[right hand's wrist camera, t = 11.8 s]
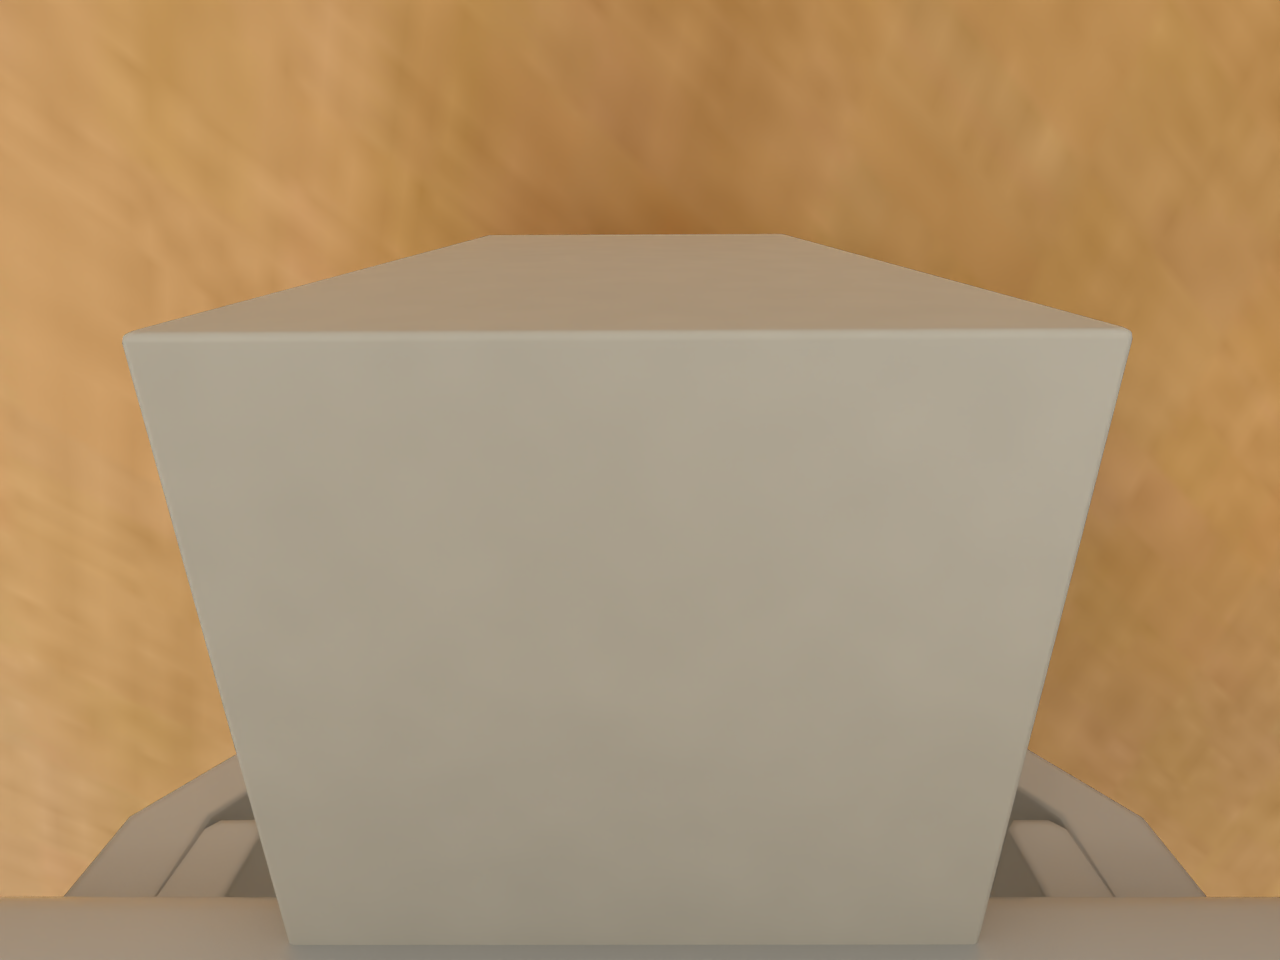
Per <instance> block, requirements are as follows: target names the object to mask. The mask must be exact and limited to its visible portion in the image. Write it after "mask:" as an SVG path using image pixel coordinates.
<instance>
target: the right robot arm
mask: <svg viewBox="0 0 1280 960" xmlns="http://www.w3.org/2000/svg"><path fill="white" fill-rule="evenodd" d="M0 960H1280V897H1206V895H1205V894H1204V893H1203V892H1202V890H1201V889H1200V888H1199V887H1198V886H1197V884H1196V883H1195V882H1194V881H1193V879H1192V878H1191V877H1190V876H1189V874H1188V873H1187V872H1186V871H1185V869H1184V868H1183V867H1182V866H1181V864H1180V863H1179V862H1178V861H1177V860H1176V858H1175V857H1174V856H1173V855H1172V853H1171V852H1170V851H1169V850H1168V848H1167V847H1166V846H1165V845H1164V843H1163V842H1162V841H1161V840H1160V839H1159V837H1158V836H1157V835H1156V834H1155V832H1154V831H1153V830H1152V829H1151V827H1150V826H1149V825H1148V824H1147V822H1146V821H1145V820H1144V819H1143V818H1142V817H1140V816H1139V815H1137V814H1135V813H1134V812H1132V811H1130V810H1128V809H1127V808H1125V807H1123V806H1122V805H1120V804H1118V803H1117V802H1115V801H1113V800H1112V799H1110V798H1108V797H1107V796H1105V795H1103V794H1102V793H1100V792H1098V791H1097V790H1095V789H1093V788H1092V787H1090V786H1088V785H1087V784H1085V783H1083V782H1081V781H1080V780H1078V779H1076V778H1075V777H1073V776H1071V775H1070V774H1068V773H1066V772H1065V771H1063V770H1061V769H1060V768H1058V767H1056V766H1055V765H1053V764H1051V763H1050V762H1048V761H1046V760H1045V759H1043V758H1041V757H1040V756H1038V755H1036V754H1034V753H1033V752H1031V751H1029V750H1028V749H1027V752H1026V756H1025V760H1024V764H1023V768H1022V772H1021V776H1020V779H1019V783H1018V787H1017V791H1016V795H1015V799H1014V803H1013V807H1012V811H1011V815H1010V818H1009V822H1008V826H1007V830H1006V834H1005V838H1004V842H1003V846H1002V850H1001V854H1000V857H999V861H998V865H997V869H996V873H995V877H994V881H993V885H992V889H991V893H990V897H989V900H988V904H987V908H986V912H985V916H984V920H983V924H982V928H981V932H980V936H979V939H978V943H976V944H974V945H292V944H290V943H289V940H288V937H287V933H286V930H285V926H284V922H283V919H282V915H281V912H280V908H279V904H278V901H277V897H276V894H275V890H274V887H273V883H272V879H271V876H270V872H269V869H268V865H267V861H266V858H265V854H264V851H263V847H262V843H261V840H260V836H259V833H258V829H257V825H256V822H255V818H254V815H253V811H252V807H251V804H250V800H249V797H248V793H247V789H246V786H245V782H244V779H243V775H242V772H241V768H240V764H239V761H238V757H237V754H236V755H234V756H232V757H231V758H229V759H227V760H226V761H224V762H222V763H220V764H219V765H217V766H215V767H214V768H212V769H210V770H209V771H207V772H205V773H203V774H202V775H200V776H198V777H197V778H195V779H193V780H192V781H190V782H188V783H186V784H185V785H183V786H181V787H180V788H178V789H176V790H175V791H173V792H171V793H170V794H168V795H166V796H164V797H163V798H161V799H159V800H158V801H156V802H154V803H153V804H151V805H149V806H147V807H146V808H144V809H142V810H141V811H139V812H137V813H136V814H134V815H132V816H130V817H129V818H128V819H127V821H126V822H125V823H124V824H123V826H122V827H121V828H120V829H119V830H118V832H117V833H116V834H115V835H114V836H113V838H112V839H111V840H110V841H109V842H108V844H107V845H106V846H105V847H104V848H103V850H102V851H101V852H100V853H99V854H98V856H97V857H96V858H95V859H94V861H93V862H92V863H91V864H90V865H89V867H88V868H87V869H86V870H85V871H84V873H83V874H82V875H81V876H80V877H79V879H78V880H77V881H76V882H75V883H74V885H73V886H72V887H71V888H70V890H69V891H68V892H67V893H66V894H65V896H64V897H0Z"/></svg>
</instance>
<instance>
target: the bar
mask: <svg viewBox="0 0 1280 960" xmlns="http://www.w3.org/2000/svg"><path fill="white" fill-rule="evenodd" d="M1131 342H1132V332H1131V331H1130V330H1128V329H1126V328H1124V327H1121V326H1117V325H1114V324H1110V323H1106V322H1103V321H1099V320H1095V319H1092V318H1088V317H1084V316H1081V315H1077V314H1073V313H1070V312H1066V311H1062V310H1059V309H1055V308H1051V307H1048V306H1044V305H1041V304H1037V303H1033V302H1030V301H1026V300H1022V299H1019V298H1015V297H1011V296H1008V295H1004V294H1000V293H997V292H993V291H989V290H986V289H982V288H978V287H975V286H971V285H967V284H964V283H960V282H956V281H953V280H949V279H945V278H942V277H938V276H934V275H931V274H927V273H923V272H920V271H916V270H912V269H909V268H905V267H901V266H898V265H894V264H890V263H887V262H883V261H880V260H876V259H872V258H869V257H865V256H861V255H858V254H854V253H850V252H847V251H843V250H839V249H836V248H832V247H828V246H825V245H821V244H817V243H814V242H810V241H806V240H803V239H799V238H795V237H792V236H788V235H784V234H636V235H488V236H484V237H481V238H477V239H473V240H469V241H466V242H462V243H458V244H455V245H451V246H447V247H443V248H440V249H436V250H432V251H429V252H425V253H421V254H417V255H414V256H410V257H406V258H402V259H399V260H395V261H391V262H388V263H384V264H380V265H376V266H373V267H369V268H365V269H361V270H358V271H354V272H350V273H347V274H343V275H339V276H335V277H332V278H328V279H324V280H320V281H317V282H313V283H309V284H306V285H302V286H298V287H294V288H291V289H287V290H283V291H280V292H276V293H272V294H268V295H265V296H261V297H257V298H253V299H250V300H246V301H242V302H239V303H235V304H231V305H227V306H224V307H220V308H216V309H212V310H209V311H205V312H201V313H198V314H194V315H190V316H186V317H183V318H179V319H175V320H172V321H168V322H164V323H160V324H157V325H153V326H149V327H145V328H142V329H138V330H134V331H131V332H129V333H127V334H125V335H124V336H123V341H122V344H123V347H124V351H125V355H126V358H127V362H128V365H129V369H130V373H131V376H132V380H133V383H134V387H135V391H136V394H137V398H138V401H139V405H140V409H141V412H142V416H143V419H144V423H145V427H146V430H147V434H148V437H149V441H150V444H151V448H152V452H153V455H154V459H155V462H156V466H157V470H158V473H159V477H160V480H161V484H162V488H163V491H164V495H165V498H166V502H167V506H168V509H169V513H170V516H171V520H172V524H173V527H174V531H175V534H176V538H177V542H178V545H179V549H180V552H181V556H182V559H183V563H184V567H185V570H186V574H187V577H188V581H189V585H190V588H191V592H192V595H193V599H194V603H195V606H196V610H197V613H198V617H199V621H200V624H201V628H202V631H203V635H204V639H205V642H206V646H207V649H208V653H209V657H210V660H211V664H212V667H213V671H214V674H215V678H216V682H217V685H218V689H219V692H220V696H221V700H222V703H223V707H224V710H225V714H226V718H227V721H228V725H229V728H230V732H231V736H232V739H233V743H234V746H235V750H236V754H237V757H238V761H239V764H240V768H241V772H242V775H243V779H244V782H245V786H246V789H247V793H248V797H249V800H250V804H251V807H252V811H253V815H254V818H255V822H256V825H257V829H258V833H259V836H260V840H261V843H262V847H263V851H264V854H265V858H266V861H267V865H268V869H269V872H270V876H271V879H272V883H273V887H274V890H275V894H276V897H277V901H278V904H279V908H280V912H281V915H282V919H283V922H284V926H285V930H286V933H287V937H288V940H289V943H290V944H292V945H974V944H976V943H978V939H979V936H980V932H981V928H982V924H983V920H984V916H985V912H986V908H987V904H988V900H989V897H990V893H991V889H992V885H993V881H994V877H995V873H996V869H997V865H998V861H999V857H1000V854H1001V850H1002V846H1003V842H1004V838H1005V834H1006V830H1007V826H1008V822H1009V818H1010V815H1011V811H1012V807H1013V803H1014V799H1015V795H1016V791H1017V787H1018V783H1019V779H1020V776H1021V772H1022V768H1023V764H1024V760H1025V756H1026V752H1027V748H1028V744H1029V740H1030V737H1031V733H1032V729H1033V725H1034V721H1035V717H1036V713H1037V709H1038V705H1039V701H1040V697H1041V694H1042V690H1043V686H1044V682H1045V678H1046V674H1047V670H1048V666H1049V662H1050V658H1051V655H1052V651H1053V647H1054V643H1055V639H1056V635H1057V631H1058V627H1059V623H1060V619H1061V616H1062V612H1063V608H1064V604H1065V600H1066V596H1067V592H1068V588H1069V584H1070V580H1071V576H1072V573H1073V569H1074V565H1075V561H1076V557H1077V553H1078V549H1079V545H1080V541H1081V537H1082V534H1083V530H1084V526H1085V522H1086V518H1087V514H1088V510H1089V506H1090V502H1091V498H1092V495H1093V491H1094V487H1095V483H1096V479H1097V475H1098V471H1099V467H1100V463H1101V459H1102V455H1103V452H1104V448H1105V444H1106V440H1107V436H1108V432H1109V428H1110V424H1111V420H1112V416H1113V413H1114V409H1115V405H1116V401H1117V397H1118V393H1119V389H1120V385H1121V381H1122V377H1123V374H1124V370H1125V366H1126V362H1127V358H1128V354H1129V350H1130V346H1131Z"/></svg>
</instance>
